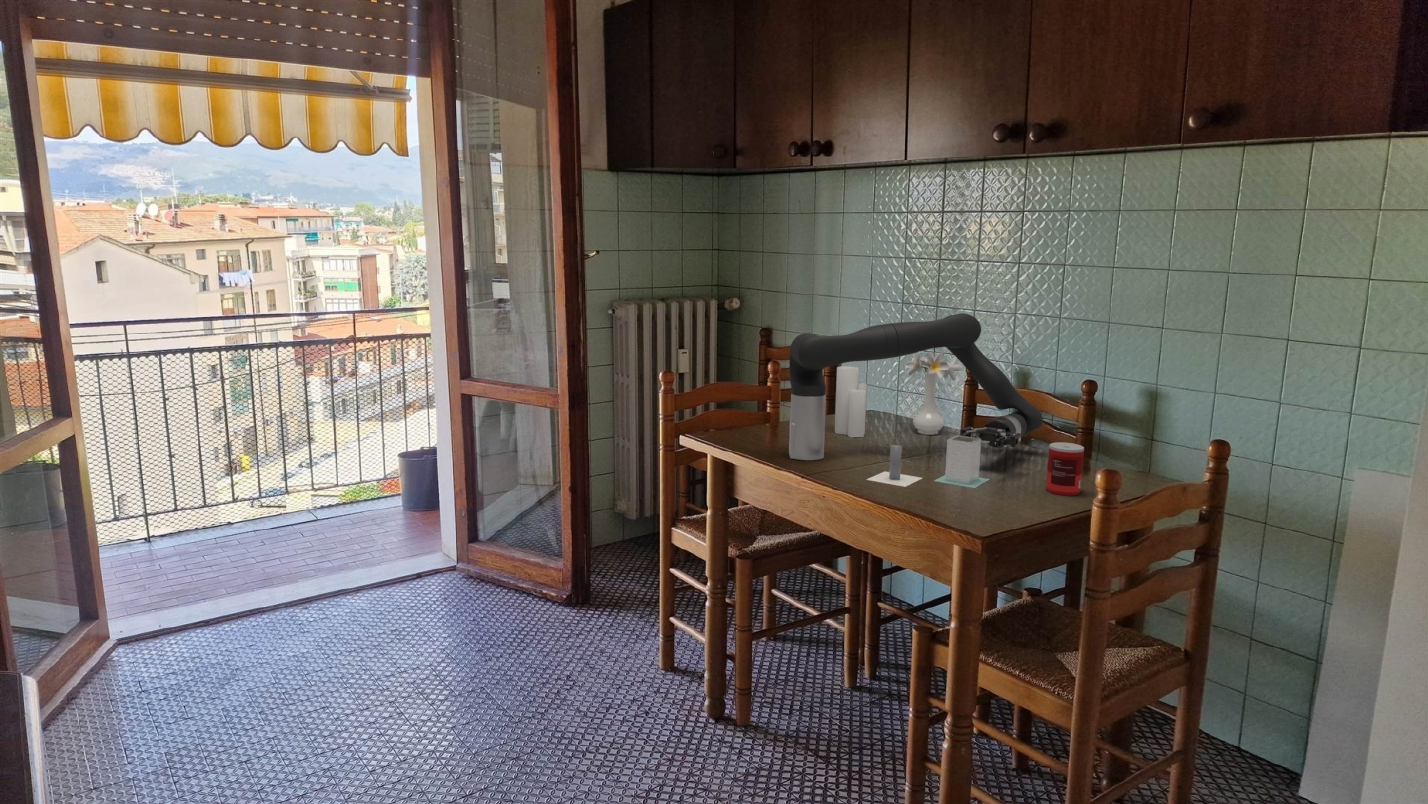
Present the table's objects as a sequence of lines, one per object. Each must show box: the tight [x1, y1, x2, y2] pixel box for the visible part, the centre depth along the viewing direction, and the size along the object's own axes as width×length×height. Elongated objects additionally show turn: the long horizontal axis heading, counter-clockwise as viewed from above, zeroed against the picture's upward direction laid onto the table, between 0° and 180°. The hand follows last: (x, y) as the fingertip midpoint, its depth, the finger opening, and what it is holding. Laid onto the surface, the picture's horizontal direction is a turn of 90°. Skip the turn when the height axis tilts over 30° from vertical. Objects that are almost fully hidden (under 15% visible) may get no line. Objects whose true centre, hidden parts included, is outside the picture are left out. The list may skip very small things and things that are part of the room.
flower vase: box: [906, 351, 963, 436], centre depth 271 cm, size 13×18×25 cm
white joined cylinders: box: [834, 365, 868, 438], centre depth 268 cm, size 11×7×20 cm, turn 37°
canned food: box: [1045, 441, 1085, 497], centre depth 208 cm, size 8×8×11 cm
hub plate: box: [933, 474, 991, 489], centre depth 212 cm, size 10×10×10 cm
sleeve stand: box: [866, 444, 923, 488], centre depth 212 cm, size 10×10×10 cm
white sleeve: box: [944, 434, 982, 485], centre depth 211 cm, size 6×6×10 cm
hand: (980, 441), depth 220 cm, fingers open, 8 cm apart
